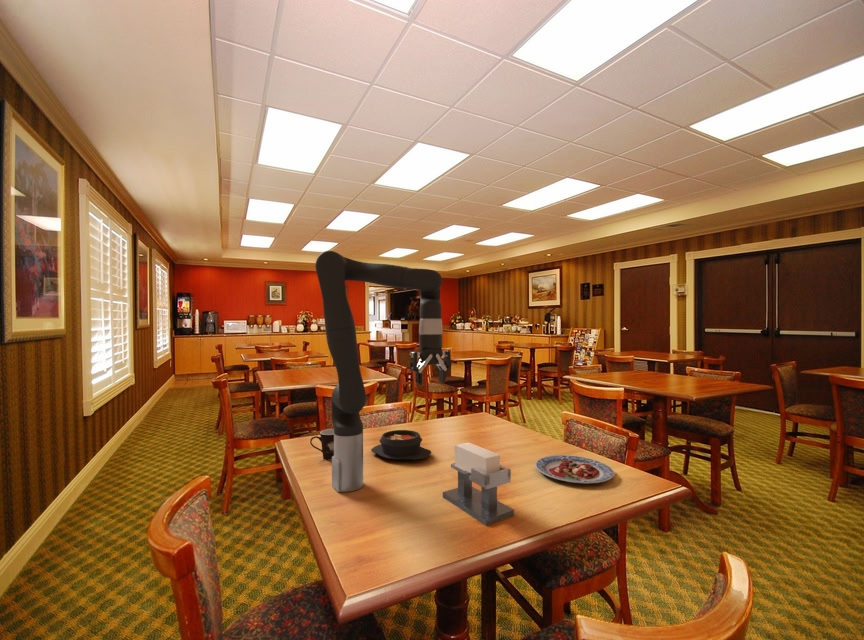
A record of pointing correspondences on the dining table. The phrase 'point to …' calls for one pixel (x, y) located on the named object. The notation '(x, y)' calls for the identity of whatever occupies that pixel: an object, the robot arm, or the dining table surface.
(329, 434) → the coffee mug
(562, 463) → the ceramic plate
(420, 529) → the dining table surface
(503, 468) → the stand
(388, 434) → the casserole
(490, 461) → the white rectangular block
